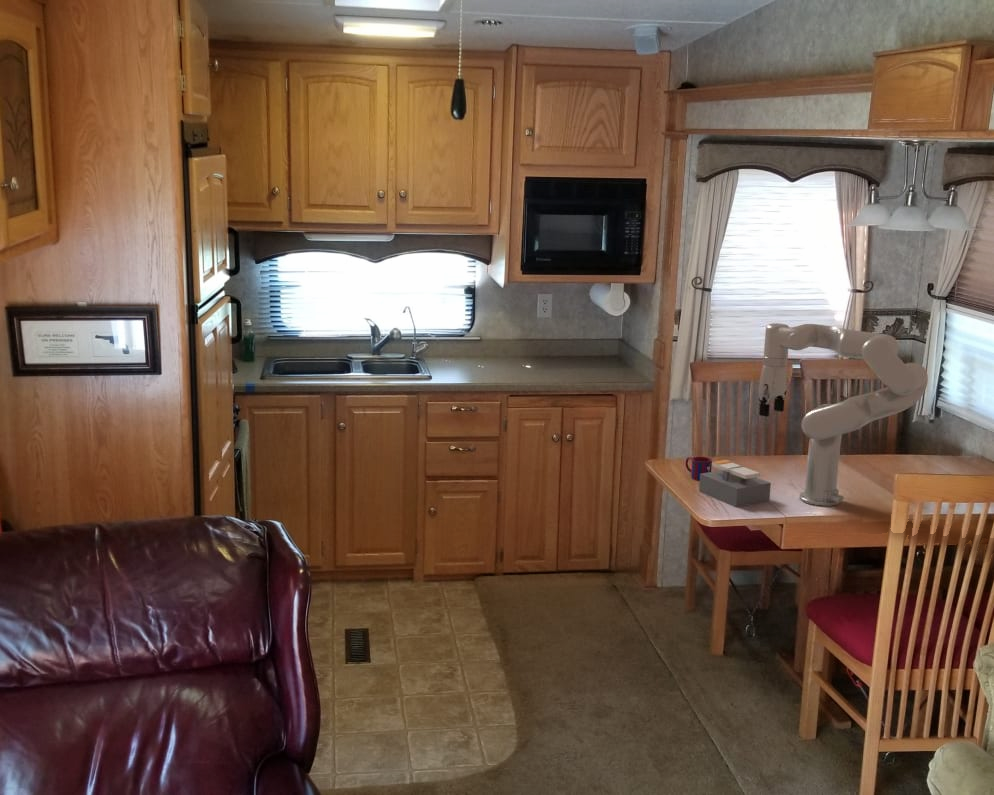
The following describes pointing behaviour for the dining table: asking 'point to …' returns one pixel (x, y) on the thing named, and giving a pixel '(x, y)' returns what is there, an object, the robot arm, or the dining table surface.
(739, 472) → the rocker
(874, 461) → the dining table surface
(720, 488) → the switch box
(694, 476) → the mug
